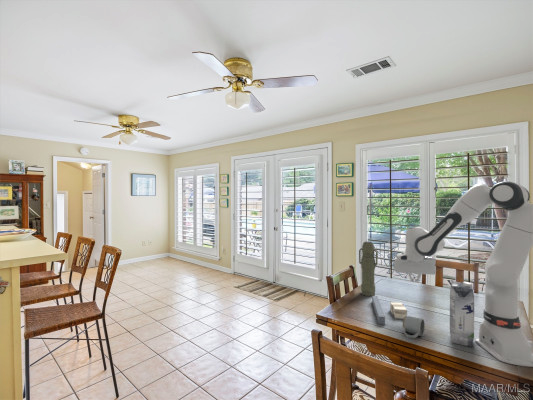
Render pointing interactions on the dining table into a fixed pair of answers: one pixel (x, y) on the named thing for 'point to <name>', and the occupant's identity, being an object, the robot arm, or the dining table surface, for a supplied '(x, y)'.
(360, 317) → the dining table surface
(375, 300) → the grey rectangular bar
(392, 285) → the dining table surface
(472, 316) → the juice carton
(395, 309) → the birch block
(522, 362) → the robot arm
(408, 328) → the ceramic mug
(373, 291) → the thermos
